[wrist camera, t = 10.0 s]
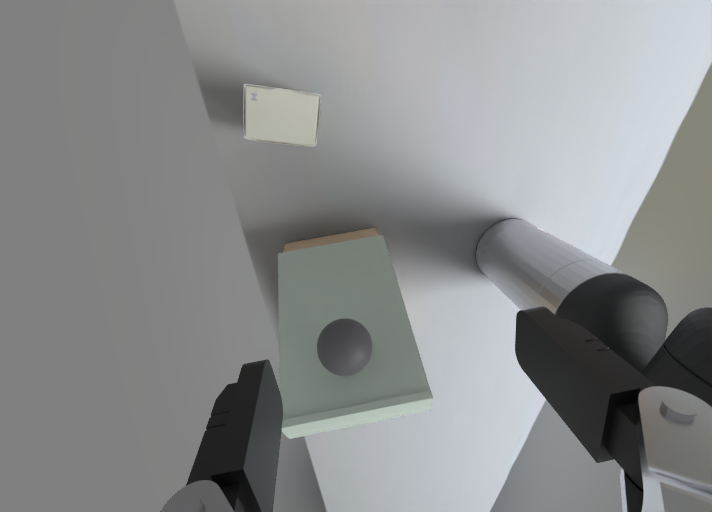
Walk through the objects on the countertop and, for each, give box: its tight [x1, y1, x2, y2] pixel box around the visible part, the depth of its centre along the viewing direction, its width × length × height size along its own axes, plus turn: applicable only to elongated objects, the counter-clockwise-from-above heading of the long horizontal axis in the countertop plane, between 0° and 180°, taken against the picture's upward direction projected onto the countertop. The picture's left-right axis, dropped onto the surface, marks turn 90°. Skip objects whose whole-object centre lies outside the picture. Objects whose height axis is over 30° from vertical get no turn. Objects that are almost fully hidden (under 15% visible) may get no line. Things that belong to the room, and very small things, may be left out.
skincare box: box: [243, 84, 321, 147], centre depth 34 cm, size 6×4×12 cm
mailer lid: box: [278, 235, 433, 439], centre depth 33 cm, size 19×12×9 cm
